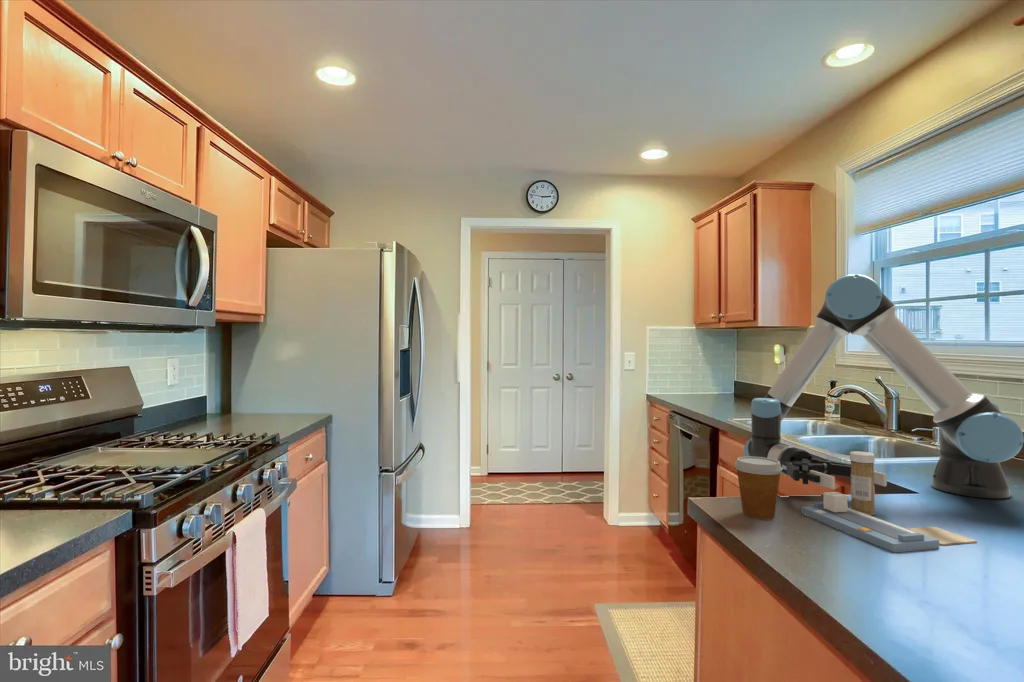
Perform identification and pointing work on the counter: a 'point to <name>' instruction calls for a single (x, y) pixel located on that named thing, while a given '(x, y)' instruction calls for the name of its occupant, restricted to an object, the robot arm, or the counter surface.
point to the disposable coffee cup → (758, 485)
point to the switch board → (872, 529)
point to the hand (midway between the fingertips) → (859, 481)
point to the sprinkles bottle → (862, 482)
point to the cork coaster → (943, 536)
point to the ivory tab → (835, 502)
